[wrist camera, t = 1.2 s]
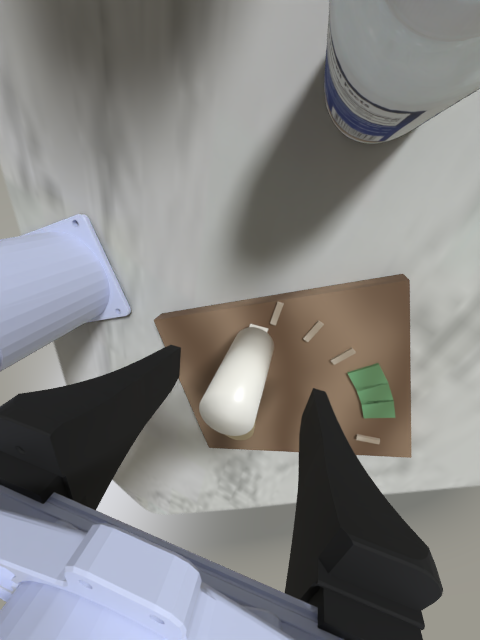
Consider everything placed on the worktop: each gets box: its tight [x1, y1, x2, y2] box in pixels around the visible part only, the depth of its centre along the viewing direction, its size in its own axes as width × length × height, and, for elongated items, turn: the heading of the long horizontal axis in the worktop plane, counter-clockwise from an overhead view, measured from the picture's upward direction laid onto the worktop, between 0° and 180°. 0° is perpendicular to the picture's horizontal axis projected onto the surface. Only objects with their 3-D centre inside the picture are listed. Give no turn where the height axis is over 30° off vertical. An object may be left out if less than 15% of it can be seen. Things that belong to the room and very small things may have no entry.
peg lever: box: [199, 324, 274, 440], centre depth 16 cm, size 11×3×7 cm, turn 170°
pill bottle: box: [324, 0, 480, 144], centre depth 7 cm, size 5×5×10 cm
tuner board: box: [154, 274, 411, 457], centre depth 20 cm, size 17×14×1 cm
